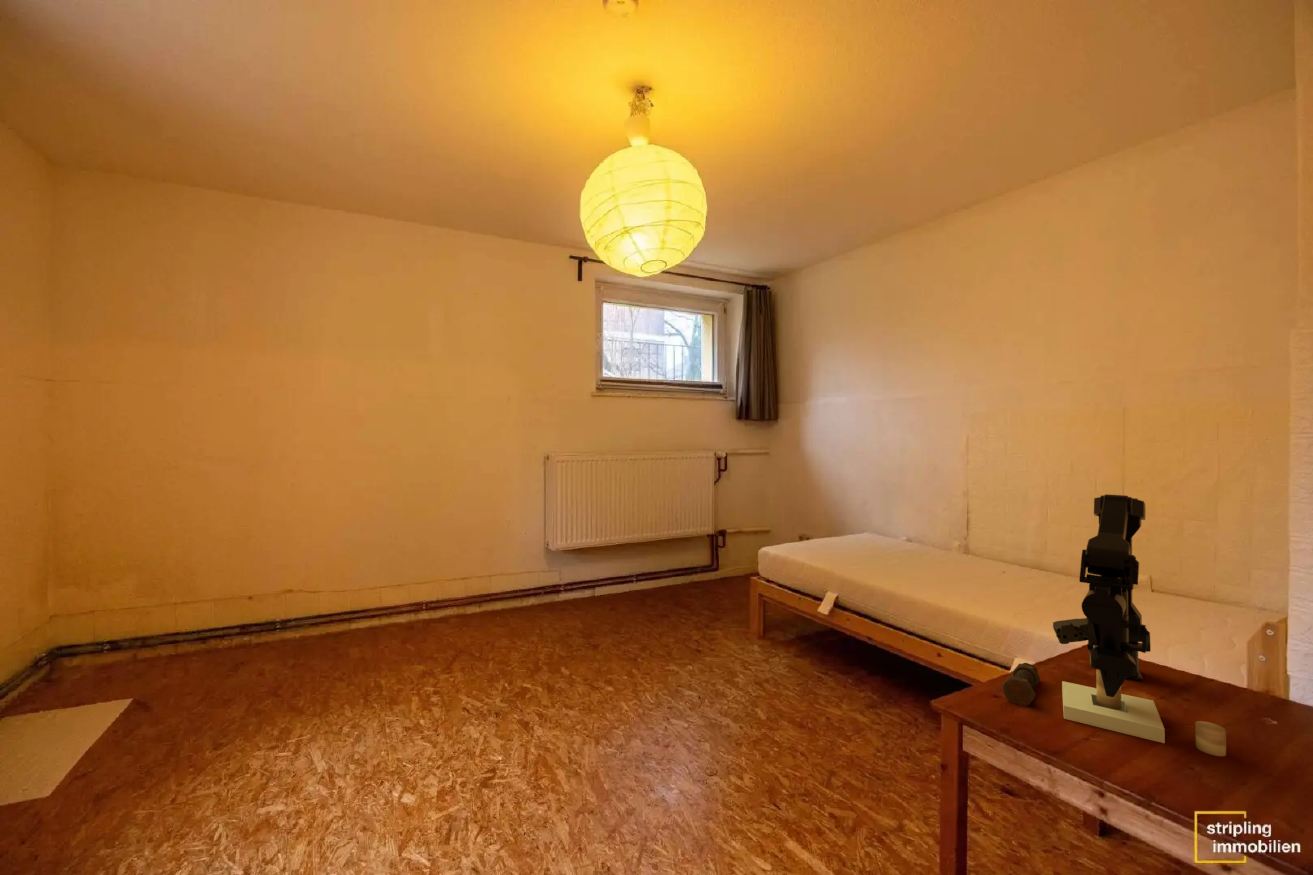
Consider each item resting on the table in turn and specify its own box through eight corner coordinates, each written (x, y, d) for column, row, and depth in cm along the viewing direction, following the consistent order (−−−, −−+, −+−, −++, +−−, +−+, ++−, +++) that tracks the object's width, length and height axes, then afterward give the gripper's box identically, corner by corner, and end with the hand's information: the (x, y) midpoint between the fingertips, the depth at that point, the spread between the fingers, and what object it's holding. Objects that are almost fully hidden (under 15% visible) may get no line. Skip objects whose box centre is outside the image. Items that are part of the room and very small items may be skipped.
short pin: (1193, 741, 93) (1193, 718, 93) (1223, 748, 91) (1222, 725, 91) (1198, 751, 90) (1198, 728, 90) (1228, 758, 88) (1228, 735, 88)
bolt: (1033, 687, 117) (1021, 712, 106) (1009, 670, 120) (996, 692, 109) (1049, 668, 115) (1039, 691, 104) (1025, 651, 118) (1013, 672, 107)
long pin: (1120, 703, 102) (1119, 662, 102) (1122, 711, 99) (1121, 669, 99) (1096, 698, 104) (1095, 658, 104) (1097, 706, 101) (1096, 664, 101)
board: (1062, 692, 110) (1062, 680, 110) (1153, 713, 102) (1153, 700, 102) (1063, 718, 101) (1063, 705, 101) (1164, 743, 92) (1164, 729, 92)
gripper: (1055, 591, 113) (1055, 663, 114) (1056, 617, 98) (1057, 700, 99) (1123, 601, 107) (1124, 677, 107) (1136, 630, 92) (1137, 718, 92)
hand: (1108, 691), depth 101 cm, fingers closed on long pin, 4 cm apart
